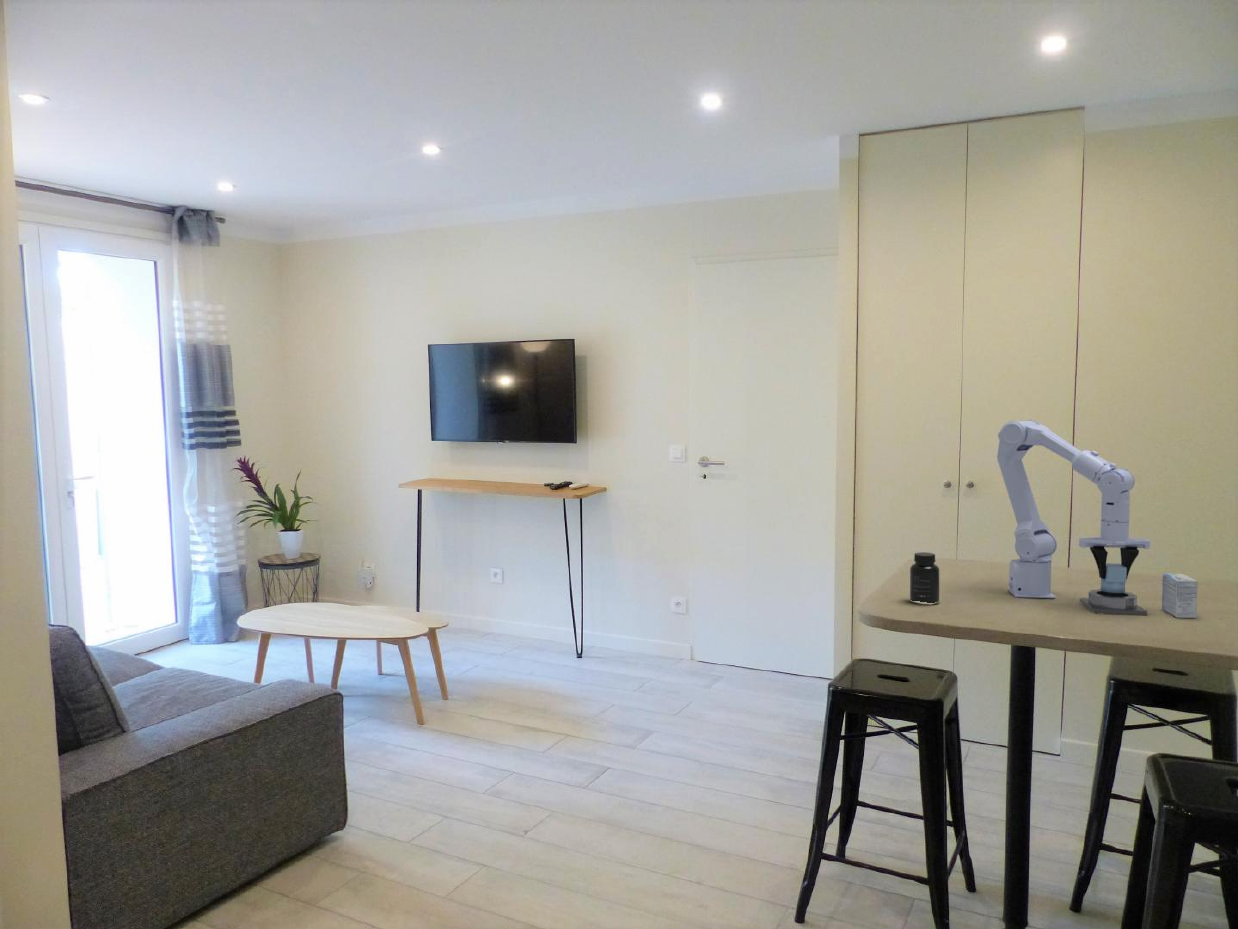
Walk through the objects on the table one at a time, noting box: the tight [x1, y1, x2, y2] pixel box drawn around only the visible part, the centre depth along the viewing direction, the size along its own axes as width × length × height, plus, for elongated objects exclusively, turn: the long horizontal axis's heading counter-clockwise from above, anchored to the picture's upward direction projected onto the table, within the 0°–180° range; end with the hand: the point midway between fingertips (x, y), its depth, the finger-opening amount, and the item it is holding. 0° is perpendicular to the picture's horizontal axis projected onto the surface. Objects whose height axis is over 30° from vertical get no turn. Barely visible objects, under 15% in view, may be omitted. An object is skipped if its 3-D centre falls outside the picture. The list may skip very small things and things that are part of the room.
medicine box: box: [1161, 573, 1199, 619], centre depth 199 cm, size 8×4×9 cm, turn 168°
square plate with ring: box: [1078, 588, 1148, 616], centre depth 205 cm, size 11×11×4 cm
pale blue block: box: [1100, 562, 1127, 593], centre depth 204 cm, size 5×5×6 cm
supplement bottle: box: [909, 551, 940, 603], centre depth 213 cm, size 7×7×12 cm
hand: (1113, 578), depth 204 cm, fingers closed on pale blue block, 4 cm apart
